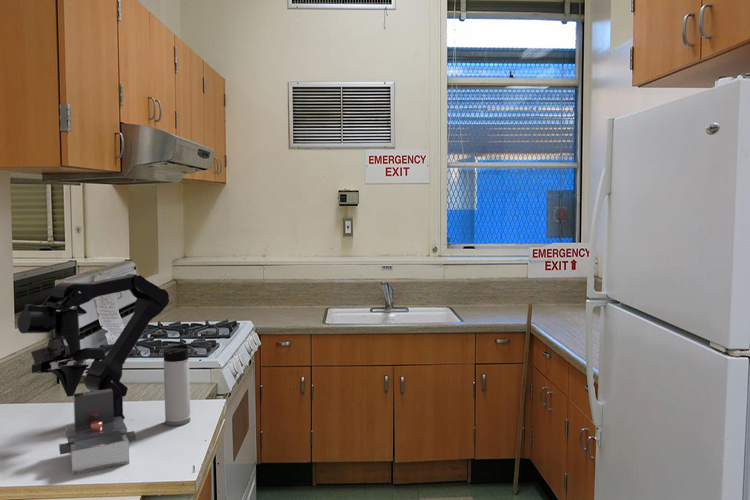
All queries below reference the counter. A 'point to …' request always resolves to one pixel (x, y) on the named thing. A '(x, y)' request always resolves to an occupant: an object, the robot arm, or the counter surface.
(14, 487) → the counter surface
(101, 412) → the lid
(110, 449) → the grey box with handles
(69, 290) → the robot arm
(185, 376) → the travel mug
